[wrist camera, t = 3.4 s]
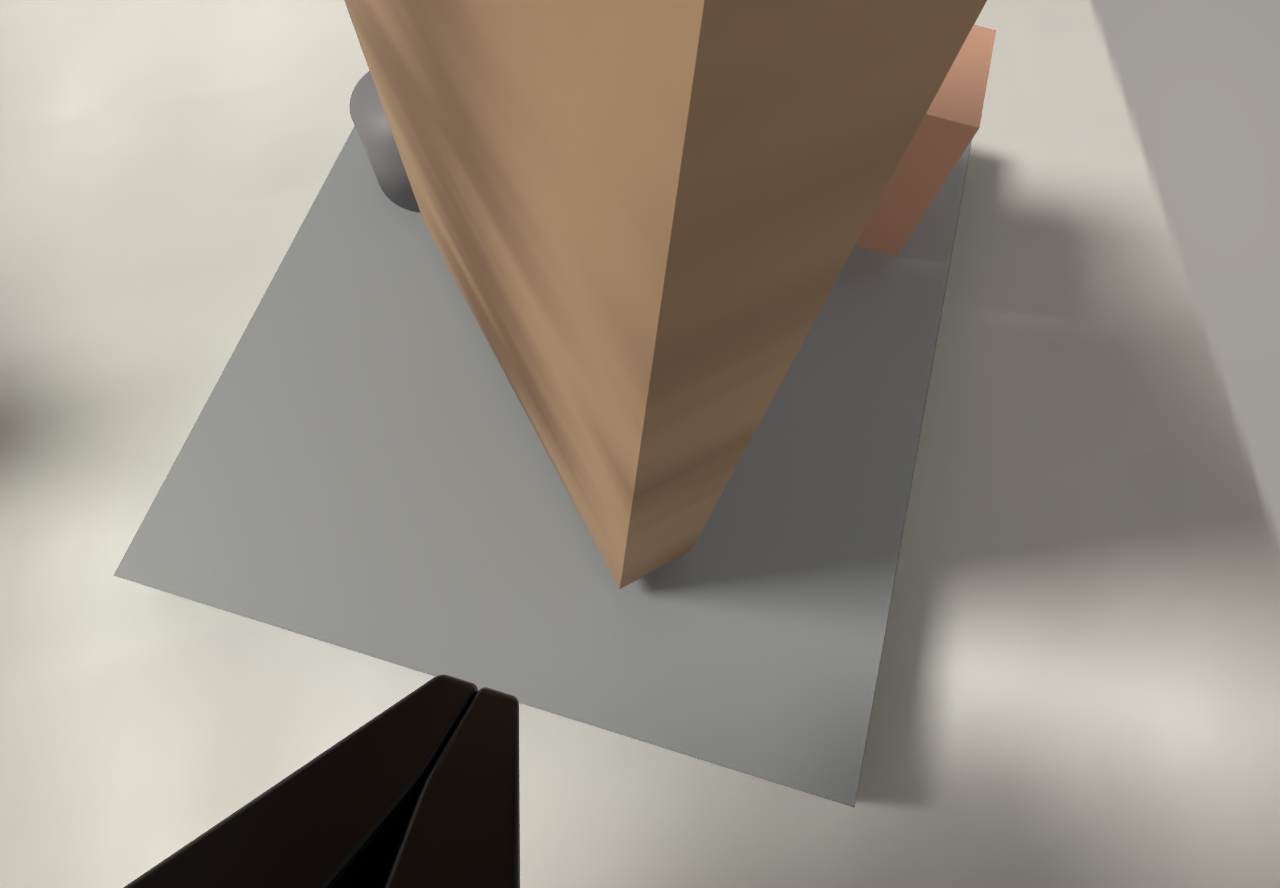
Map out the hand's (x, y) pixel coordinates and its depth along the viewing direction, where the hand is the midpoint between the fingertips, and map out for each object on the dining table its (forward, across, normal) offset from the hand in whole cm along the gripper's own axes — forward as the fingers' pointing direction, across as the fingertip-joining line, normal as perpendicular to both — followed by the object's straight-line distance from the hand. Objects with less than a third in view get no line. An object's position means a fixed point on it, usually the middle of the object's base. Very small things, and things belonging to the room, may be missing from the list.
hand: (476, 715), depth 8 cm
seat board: (+11, +1, 0) cm, 11 cm away
